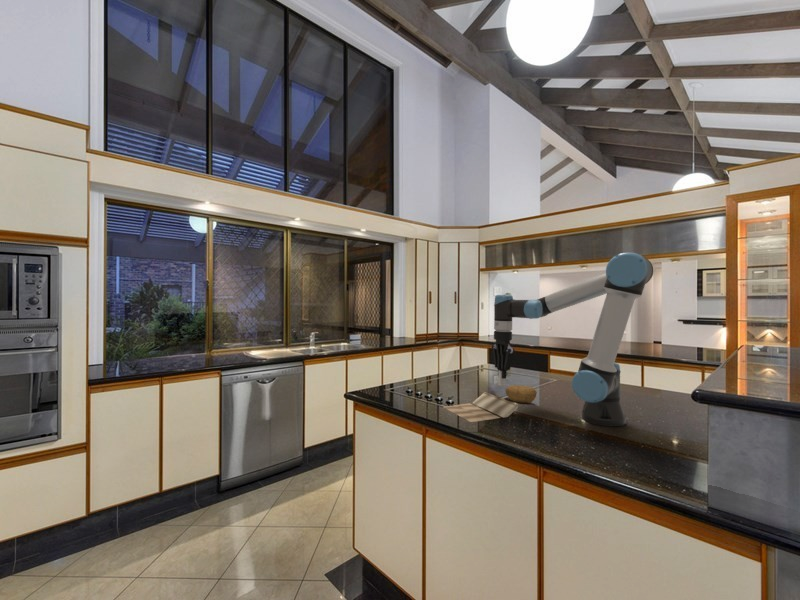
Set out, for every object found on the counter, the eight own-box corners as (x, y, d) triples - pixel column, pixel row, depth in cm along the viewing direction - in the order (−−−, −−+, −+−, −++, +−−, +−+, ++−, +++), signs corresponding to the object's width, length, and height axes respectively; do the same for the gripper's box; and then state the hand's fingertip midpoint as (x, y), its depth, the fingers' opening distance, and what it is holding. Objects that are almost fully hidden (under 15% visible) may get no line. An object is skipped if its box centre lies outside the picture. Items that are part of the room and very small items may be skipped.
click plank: (518, 407, 148) (516, 404, 147) (504, 419, 145) (503, 417, 145) (485, 394, 168) (484, 391, 168) (473, 405, 165) (471, 402, 165)
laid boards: (501, 420, 144) (501, 417, 144) (470, 425, 139) (470, 422, 139) (469, 406, 165) (469, 403, 165) (442, 409, 160) (442, 406, 160)
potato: (510, 398, 178) (510, 381, 178) (539, 403, 169) (539, 386, 169) (501, 402, 170) (501, 385, 170) (532, 408, 161) (532, 390, 161)
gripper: (486, 329, 163) (485, 382, 164) (505, 332, 151) (504, 389, 151) (500, 329, 166) (499, 381, 166) (520, 332, 154) (519, 388, 154)
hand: (501, 385), depth 159 cm, fingers closed
